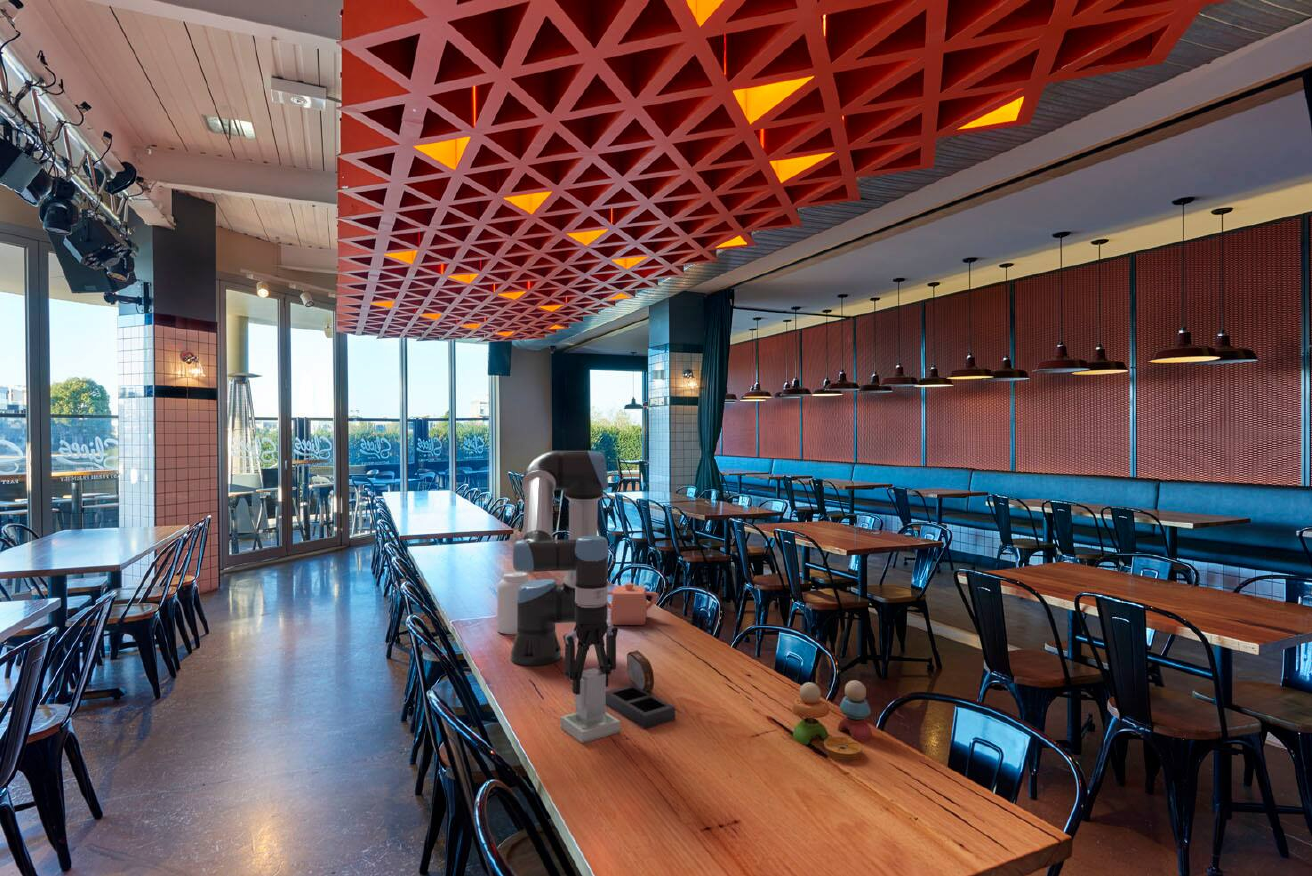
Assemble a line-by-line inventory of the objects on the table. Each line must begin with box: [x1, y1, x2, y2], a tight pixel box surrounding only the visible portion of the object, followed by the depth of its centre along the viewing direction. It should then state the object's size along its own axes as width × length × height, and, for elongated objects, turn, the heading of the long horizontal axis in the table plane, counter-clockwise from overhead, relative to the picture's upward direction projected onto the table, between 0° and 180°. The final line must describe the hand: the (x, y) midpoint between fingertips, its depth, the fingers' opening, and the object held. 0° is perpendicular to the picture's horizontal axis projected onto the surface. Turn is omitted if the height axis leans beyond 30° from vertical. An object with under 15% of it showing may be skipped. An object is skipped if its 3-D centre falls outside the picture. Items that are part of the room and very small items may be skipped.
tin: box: [626, 649, 655, 692], centre depth 179 cm, size 15×3×8 cm, turn 22°
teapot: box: [605, 582, 659, 626], centre depth 246 cm, size 20×22×14 cm
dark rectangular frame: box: [606, 683, 676, 730], centre depth 162 cm, size 18×9×3 cm, turn 36°
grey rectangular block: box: [575, 667, 607, 727], centre depth 151 cm, size 5×5×11 cm
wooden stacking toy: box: [792, 679, 873, 763], centre depth 147 cm, size 18×17×12 cm
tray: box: [560, 711, 621, 744], centre depth 151 cm, size 10×10×2 cm
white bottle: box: [496, 571, 532, 636], centre depth 230 cm, size 12×12×20 cm
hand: (590, 704), depth 151 cm, fingers closed on grey rectangular block, 5 cm apart
